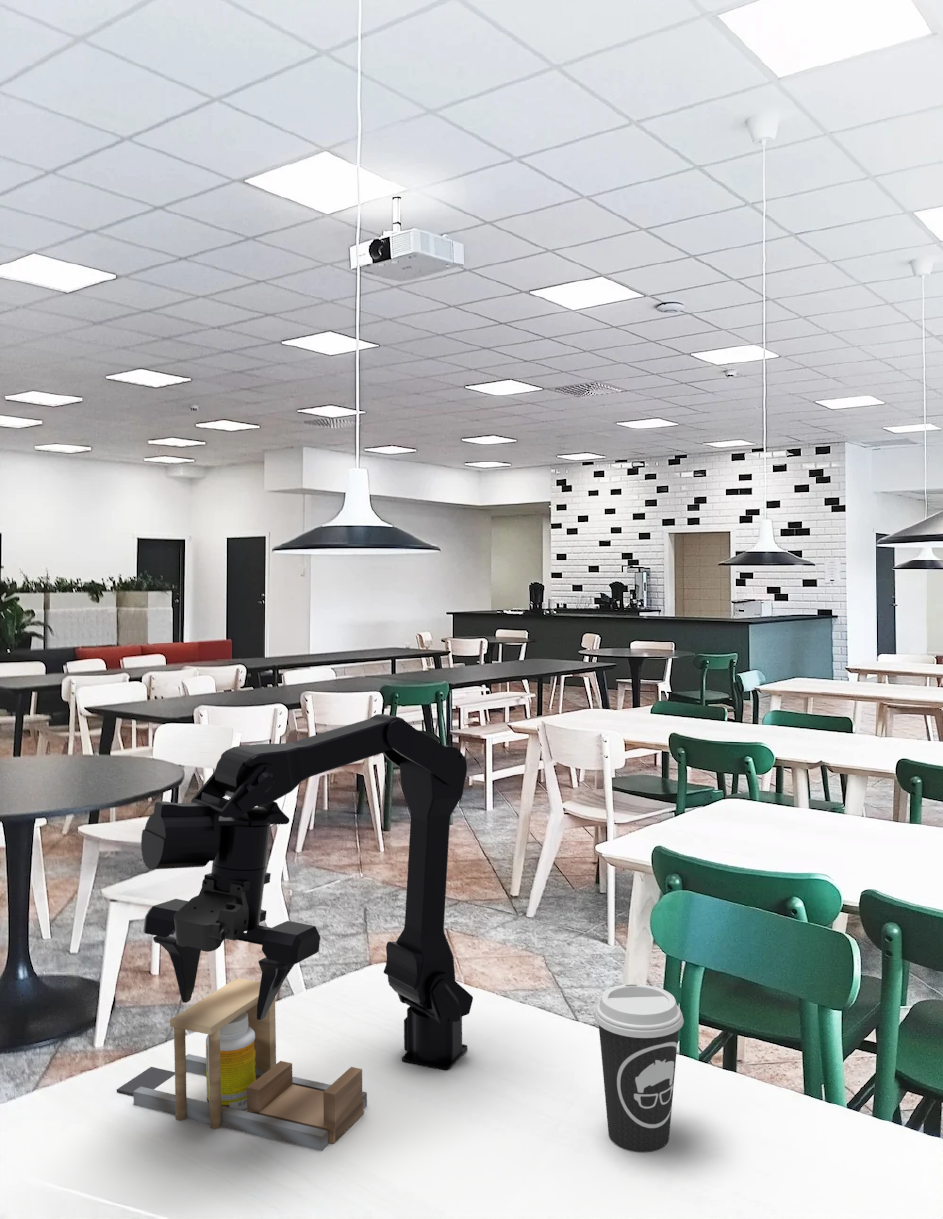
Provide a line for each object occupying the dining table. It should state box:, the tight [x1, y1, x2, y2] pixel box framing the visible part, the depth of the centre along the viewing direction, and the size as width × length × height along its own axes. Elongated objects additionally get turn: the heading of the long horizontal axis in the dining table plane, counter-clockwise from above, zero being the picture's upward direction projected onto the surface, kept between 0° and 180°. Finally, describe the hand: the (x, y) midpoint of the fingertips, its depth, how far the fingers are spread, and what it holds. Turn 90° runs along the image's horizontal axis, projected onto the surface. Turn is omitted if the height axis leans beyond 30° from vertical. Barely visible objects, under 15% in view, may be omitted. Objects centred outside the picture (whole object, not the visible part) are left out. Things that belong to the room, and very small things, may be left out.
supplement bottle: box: [205, 1012, 256, 1111], centre depth 118 cm, size 6×6×10 cm
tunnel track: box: [133, 977, 368, 1152], centre depth 117 cm, size 25×12×12 cm, turn 67°
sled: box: [246, 1060, 365, 1144], centre depth 114 cm, size 11×7×5 cm, turn 67°
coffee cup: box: [593, 983, 685, 1153], centre depth 110 cm, size 10×10×15 cm
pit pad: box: [116, 1066, 175, 1097], centre depth 123 cm, size 4×6×1 cm, turn 157°
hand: (222, 1010), depth 110 cm, fingers open, 9 cm apart
